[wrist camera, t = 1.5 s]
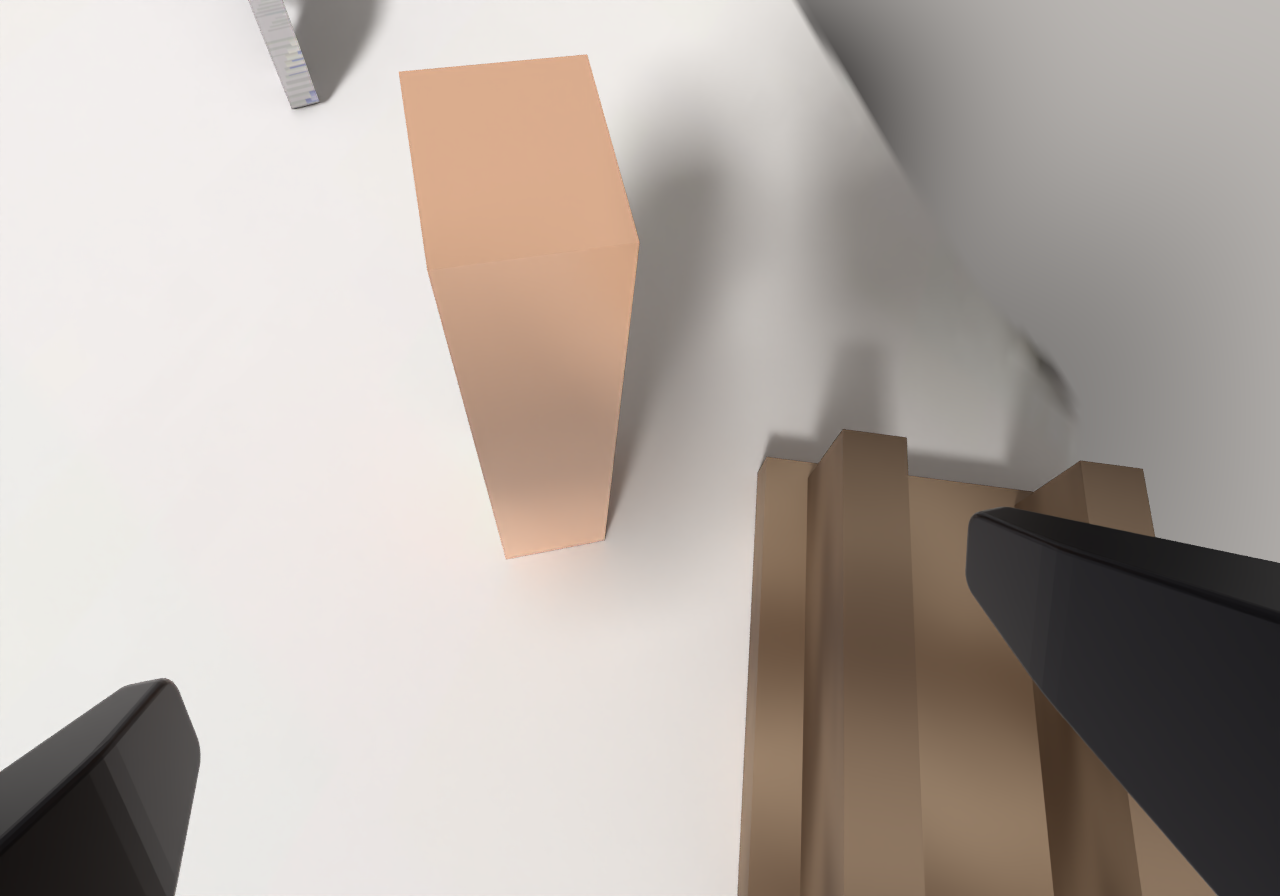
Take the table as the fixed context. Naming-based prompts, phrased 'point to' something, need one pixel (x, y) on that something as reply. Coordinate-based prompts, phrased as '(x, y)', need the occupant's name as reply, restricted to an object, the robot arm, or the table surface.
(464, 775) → the table surface
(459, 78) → the clay block
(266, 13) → the caliper
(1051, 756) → the slot rack
